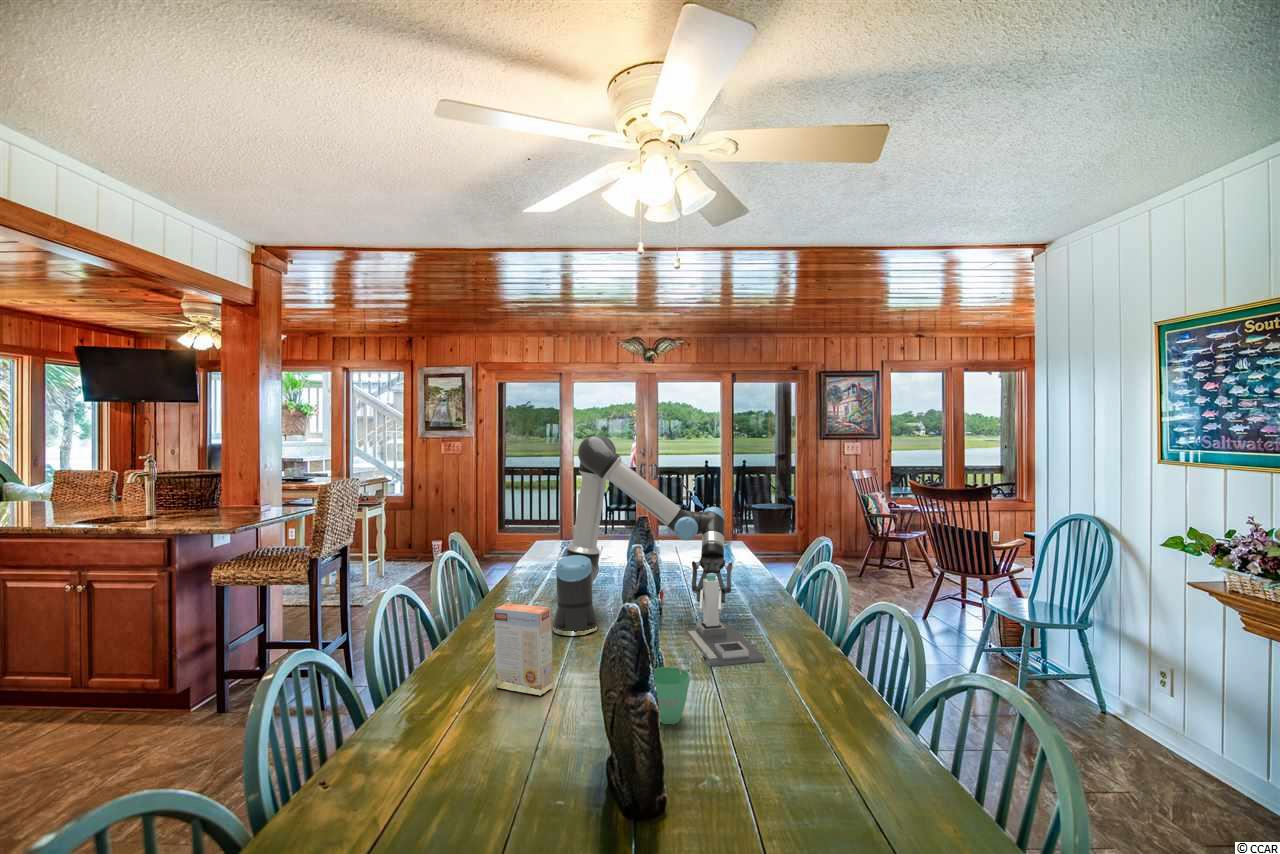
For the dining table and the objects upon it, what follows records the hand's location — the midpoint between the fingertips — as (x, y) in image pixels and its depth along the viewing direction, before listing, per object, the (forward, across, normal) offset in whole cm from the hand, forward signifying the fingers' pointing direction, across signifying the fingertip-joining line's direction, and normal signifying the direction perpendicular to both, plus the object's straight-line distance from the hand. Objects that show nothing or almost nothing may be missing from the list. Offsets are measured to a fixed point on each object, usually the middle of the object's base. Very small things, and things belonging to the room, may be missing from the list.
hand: (710, 610), depth 191 cm
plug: (+1, 0, -6) cm, 7 cm away
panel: (+10, -3, -2) cm, 11 cm away
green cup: (+45, +8, +32) cm, 56 cm away
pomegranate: (-20, +25, -33) cm, 46 cm away
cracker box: (+37, +45, +23) cm, 63 cm away
